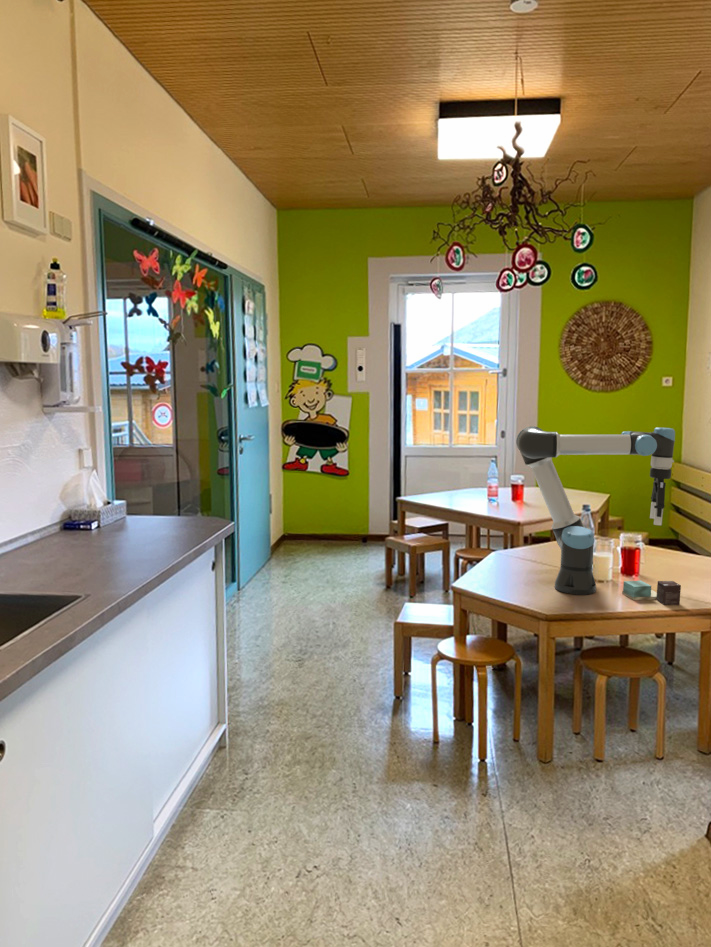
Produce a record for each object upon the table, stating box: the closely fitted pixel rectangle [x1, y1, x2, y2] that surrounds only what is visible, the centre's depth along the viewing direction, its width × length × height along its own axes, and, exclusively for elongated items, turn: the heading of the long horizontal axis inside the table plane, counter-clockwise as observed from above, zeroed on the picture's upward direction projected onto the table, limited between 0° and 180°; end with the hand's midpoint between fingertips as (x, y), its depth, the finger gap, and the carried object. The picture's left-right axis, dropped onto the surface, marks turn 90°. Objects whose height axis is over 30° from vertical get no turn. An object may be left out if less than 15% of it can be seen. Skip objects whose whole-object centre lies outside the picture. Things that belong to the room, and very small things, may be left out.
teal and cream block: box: [621, 580, 657, 601], centre depth 265 cm, size 12×8×5 cm, turn 100°
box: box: [655, 580, 682, 606], centre depth 258 cm, size 6×6×7 cm
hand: (655, 521), depth 278 cm, fingers open, 13 cm apart
